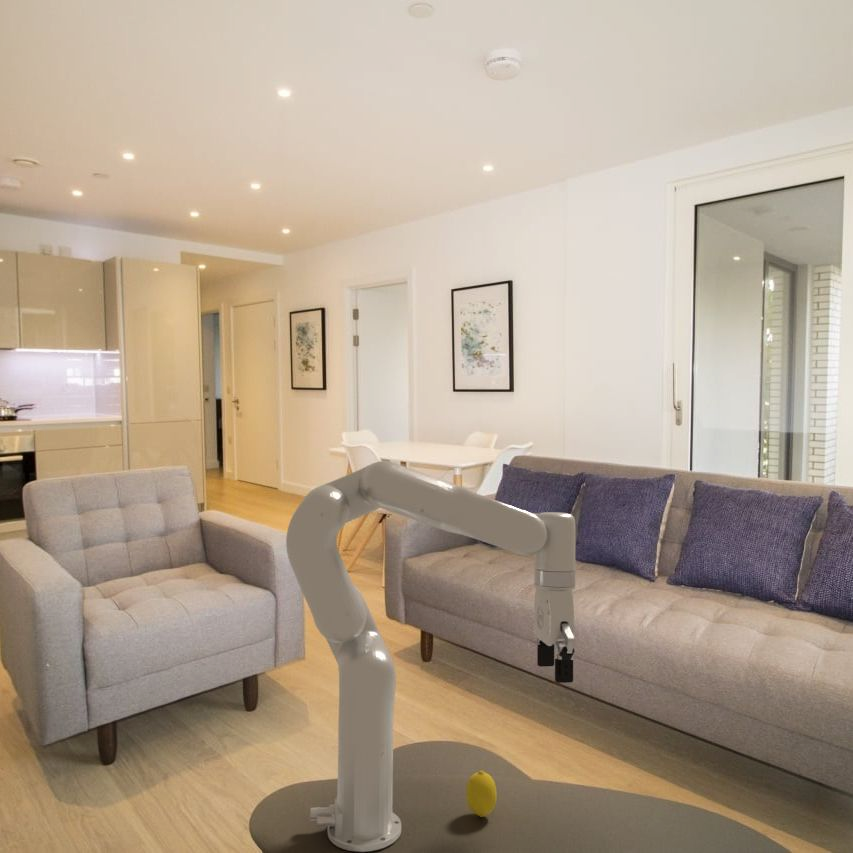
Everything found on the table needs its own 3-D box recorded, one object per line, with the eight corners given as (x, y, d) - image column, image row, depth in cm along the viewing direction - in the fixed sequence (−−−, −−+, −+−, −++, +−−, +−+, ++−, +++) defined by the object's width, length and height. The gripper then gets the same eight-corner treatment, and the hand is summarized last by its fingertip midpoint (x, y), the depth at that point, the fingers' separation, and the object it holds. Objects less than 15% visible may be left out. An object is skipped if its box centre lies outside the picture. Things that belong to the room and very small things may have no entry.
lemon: (495, 827, 111) (495, 779, 112) (463, 823, 112) (463, 776, 113) (498, 811, 117) (498, 765, 117) (468, 807, 118) (468, 762, 119)
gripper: (521, 572, 127) (521, 660, 125) (551, 587, 110) (550, 689, 108) (557, 572, 128) (557, 660, 127) (592, 587, 111) (592, 688, 109)
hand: (554, 673), depth 118 cm, fingers open, 9 cm apart
